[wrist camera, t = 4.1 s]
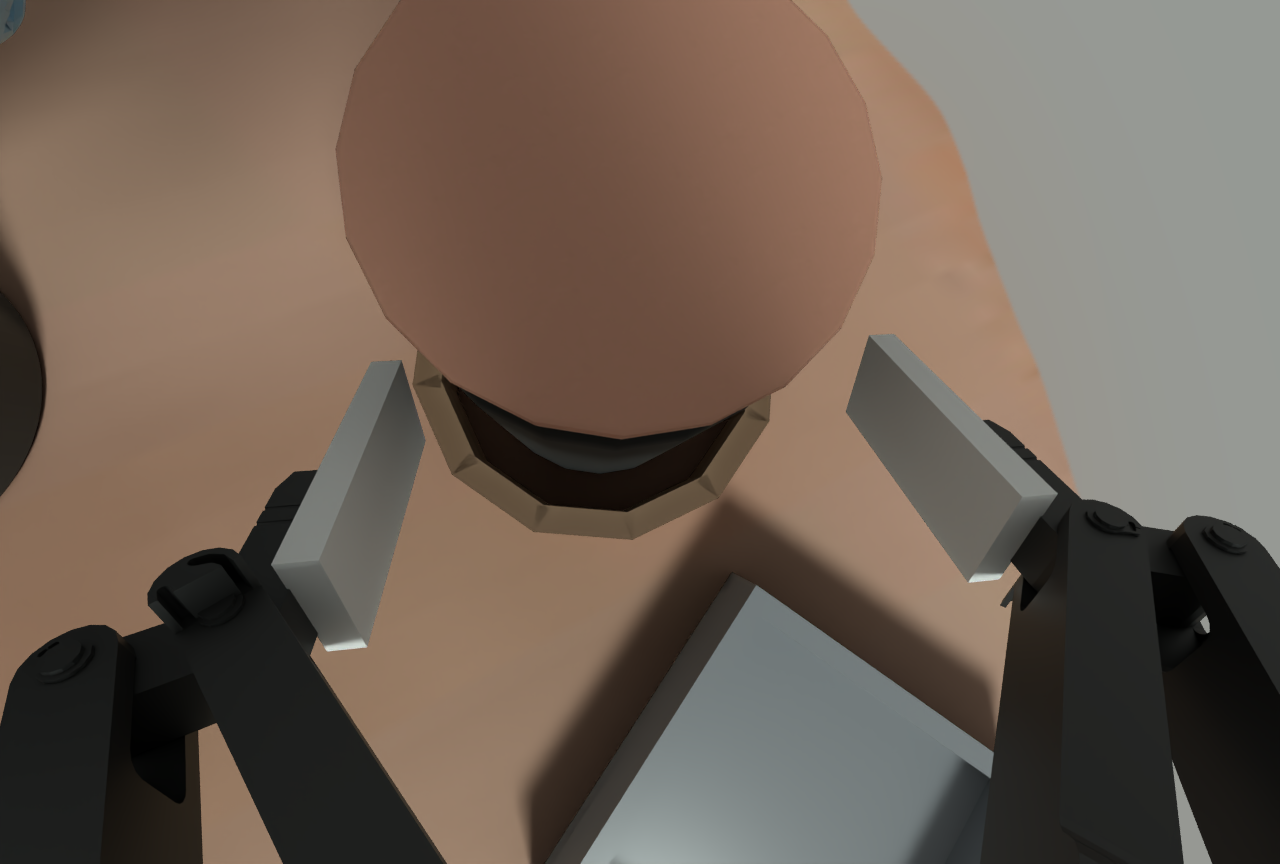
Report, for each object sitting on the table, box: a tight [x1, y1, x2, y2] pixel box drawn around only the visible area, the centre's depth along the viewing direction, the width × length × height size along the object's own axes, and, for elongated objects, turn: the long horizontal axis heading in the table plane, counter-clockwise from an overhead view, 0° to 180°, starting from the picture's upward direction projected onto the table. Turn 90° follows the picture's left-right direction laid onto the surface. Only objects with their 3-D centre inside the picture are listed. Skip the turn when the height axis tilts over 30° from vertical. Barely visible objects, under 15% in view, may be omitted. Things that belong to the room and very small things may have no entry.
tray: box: [545, 572, 994, 864], centre depth 25 cm, size 17×17×4 cm
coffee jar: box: [336, 0, 882, 474], centre depth 19 cm, size 11×11×18 cm
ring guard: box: [413, 351, 771, 540], centre depth 27 cm, size 16×16×3 cm
